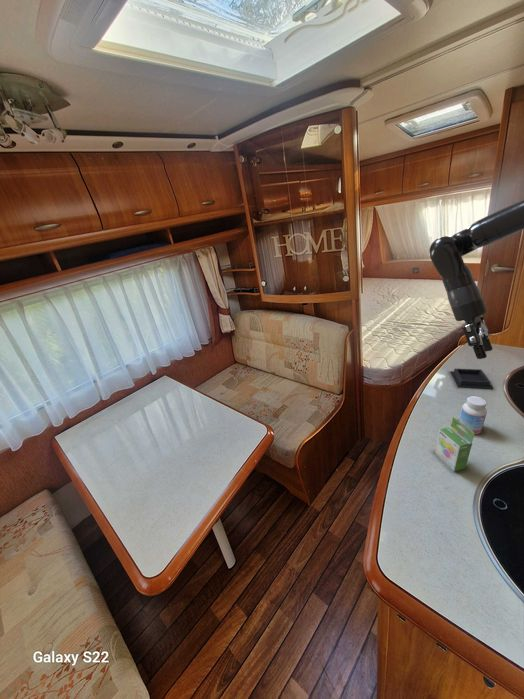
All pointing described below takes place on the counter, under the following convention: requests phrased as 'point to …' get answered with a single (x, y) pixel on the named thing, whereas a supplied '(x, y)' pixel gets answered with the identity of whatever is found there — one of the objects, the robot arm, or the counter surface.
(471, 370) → the socket pad
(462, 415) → the pill bottle
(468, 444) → the ink box
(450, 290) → the robot arm
